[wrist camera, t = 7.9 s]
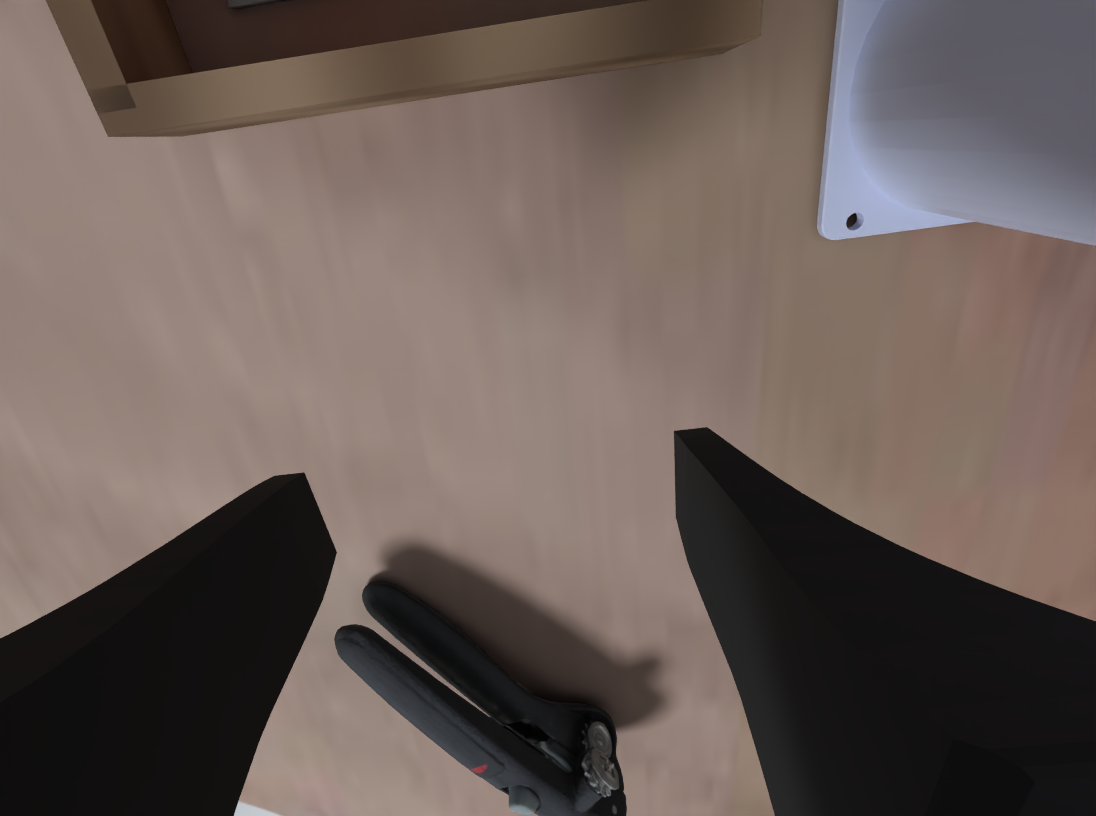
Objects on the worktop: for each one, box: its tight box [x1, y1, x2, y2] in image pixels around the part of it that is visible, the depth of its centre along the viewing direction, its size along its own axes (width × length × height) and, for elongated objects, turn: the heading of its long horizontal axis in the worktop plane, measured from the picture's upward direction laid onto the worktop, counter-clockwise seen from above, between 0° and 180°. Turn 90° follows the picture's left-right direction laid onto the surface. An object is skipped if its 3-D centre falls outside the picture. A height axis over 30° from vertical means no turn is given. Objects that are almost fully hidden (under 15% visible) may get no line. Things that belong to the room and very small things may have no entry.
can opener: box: [335, 582, 627, 816], centre depth 25 cm, size 18×7×6 cm, turn 40°
